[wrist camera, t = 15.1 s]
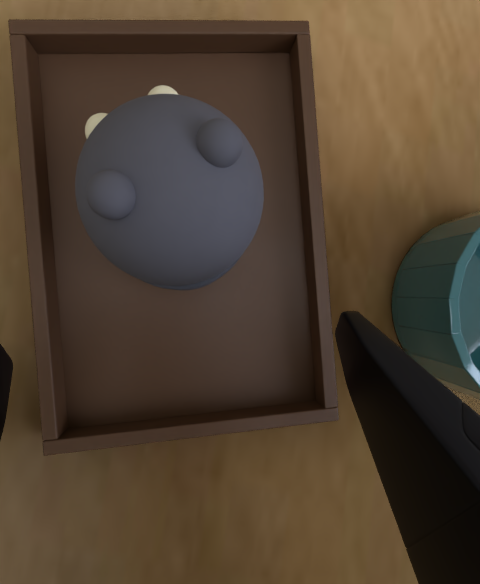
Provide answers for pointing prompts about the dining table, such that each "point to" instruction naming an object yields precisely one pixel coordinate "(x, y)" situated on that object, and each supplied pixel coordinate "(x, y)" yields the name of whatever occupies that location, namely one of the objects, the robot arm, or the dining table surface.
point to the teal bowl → (442, 303)
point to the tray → (155, 300)
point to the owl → (169, 189)
